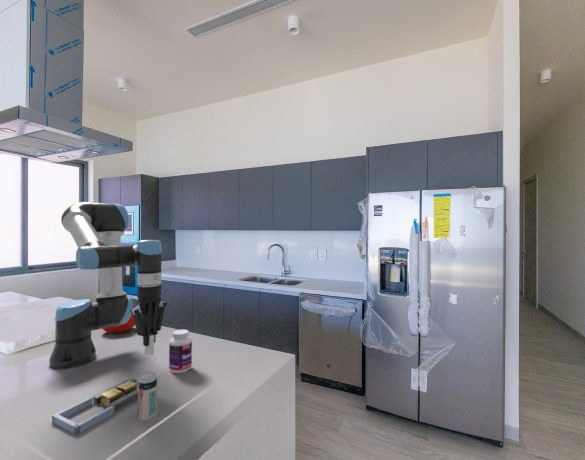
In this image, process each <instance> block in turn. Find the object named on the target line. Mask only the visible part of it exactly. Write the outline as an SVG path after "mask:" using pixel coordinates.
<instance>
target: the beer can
mask: <svg viewBox="0 0 585 460" xmlns="http://www.w3.org/2000/svg"><path fill="white" fill-rule="evenodd" d="M137 385H138V399H137V418H138V420H139V421H141V422H146V421H150V420H152V419H154V418H156V416H157V413H158V412H157V411H158V403H157V402H158V376H157V374H156V373H155V372H152V371H149V372H144V373H142V374H141V375H140V376H139V378H138V381H137Z"/></svg>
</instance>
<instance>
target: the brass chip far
mask: <svg viewBox="0 0 585 460" xmlns="http://www.w3.org/2000/svg"><path fill="white" fill-rule="evenodd" d="M137 385H138V383H137V382H136V383H134V382H131V381H127V382H125V383H123V384H121V385H119V386H117V389H118V390H120V391H122V397H123V396H125V395H127V394H129V393H130V392H132V391H134V390H136V389H137Z"/></svg>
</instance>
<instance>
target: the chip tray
mask: <svg viewBox="0 0 585 460" xmlns="http://www.w3.org/2000/svg"><path fill="white" fill-rule="evenodd" d="M92 405H93V396H92V397H91V396H89V397H87V398H85V399H83V400H81V401H79V402H77V403H75V404H73V405H70V406H68V407H67V408H65V409H62V410H60V411H59V412H56V413H55V414H53V415H51V423H52V424H54V425H55V426H58V427H60V428H62V429H63V430H66V431H68V432H69V433H71V434H73V435H75V436H77V435H79V434H80V433H82V432H84V431H86V430H88V429H89V428H91V427H93V426H95V425H96V424H98V423H99V422H101V421H103V420H105V419H106V418H108V417H110V416H112V415H114V414H115V412H114V406H110V407H108V408H105V409H103V410H101V411H98V412H97V413H95V414H94V415H92V416H90V417H88V418H86V419H85V420H83V421H80V422H78V423H77V422H75V421H72V420H71V419H69V418H68V417H70V416H72V415H74V414H76V413H78V412H81V410H85V409H86V408H87V407H89V406H92Z"/></svg>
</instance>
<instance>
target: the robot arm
mask: <svg viewBox="0 0 585 460" xmlns="http://www.w3.org/2000/svg"><path fill="white" fill-rule="evenodd" d="M60 218H61V219H60V220H61V224H62V227H63V228H64V229H65V231H67V232H69V233H70V236H71V237H72V239H73V241H74V243H75V244H76V246H77V249H76V252H75V263H76V267H77V268H78V269H79V270H82V271H83V270H91V271H92V270H93V271H94V270H98V271H99V274H98V275H99V280H98V281H99V293H98V294H97V295H96V296H95V301H92V299H89V298H83V299H77V300H76V299H75V300H71V301H69V302H65V303H62V304H61V305H59V306H58V307H57V308H56V310H55V317H54V322H55V325H54V326H55V336H54V338H55V339H54V340H55V341H54V347H53V349H52V352H51V355H50V357H49V360H48V361H49V367H51V368H53V369H69V368H73V367H74V368H75V367H77V366H82V365H84V364H85V365H86V364H87V363H89V362H91V361H93V360H94V359H95V358H96V357H97V350H96V347H95V345H94V342H93V339H92V331H97V330H101V329H102V330H103V328H107V327H112V326H118V325H121V324H125V323H127V322H128V321H129V319H130V317H131V314H132V315H133V317H134V322H135V326H134V327H135V330H136V334H137V336H139V337H142V338H143V339H142V345H143V346H144V355H146V356H153V355H155V344H156V341H157V340H156V338H157V337H156V335H158V333H159V331H161V330H162V323H163V320H164V319H163V318H164V313H165V309H166V307H167V305H168V303H167V301H163V300H162V297H161V296H162V284H161V283H162V252H163V249H162V242H161V240H159V239H141V240H138V241H137V244H128V245H127V244H123V245H122V240H121V239H122V236H123V235H124V234H125V230H128V228H129V226H130V225H129V223H130V218H129V213H128V210H127V209H126V207H125V206H124V205H122V204H118V203H109V202H89V201H82V202H77V203H74V204H72V205H71V206H68V207H67V208H66V209H65V210H64V211H63V213H62V215H61V217H60ZM123 267H137V270H136V272H137V273H136V275H137V276H136V284H137V285H138V286H137V288H136V291H137V293H136V294H137V295H136V297H137V300H138V301H137V302H136V306H134V308H133V301H132V298H131V296H127V292H126V291H124V290H123V289H124V288H123Z"/></svg>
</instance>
